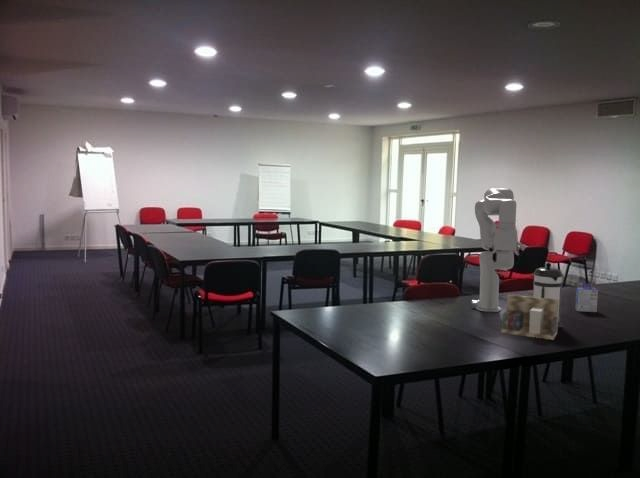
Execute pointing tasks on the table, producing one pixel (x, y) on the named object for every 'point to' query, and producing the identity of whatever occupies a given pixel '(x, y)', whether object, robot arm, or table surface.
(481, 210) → the robot arm
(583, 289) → the ink cartridge box
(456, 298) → the table surface
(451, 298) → the table surface
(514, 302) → the bookshelf
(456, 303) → the table surface
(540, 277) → the coffee press
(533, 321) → the boxed book
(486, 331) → the table surface
